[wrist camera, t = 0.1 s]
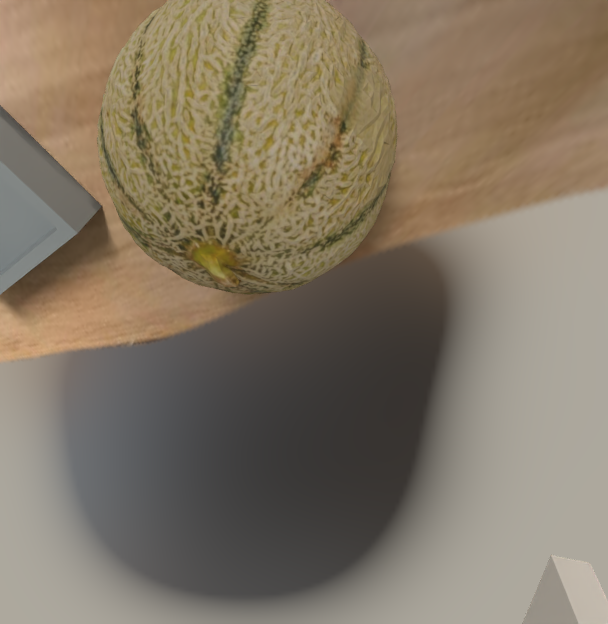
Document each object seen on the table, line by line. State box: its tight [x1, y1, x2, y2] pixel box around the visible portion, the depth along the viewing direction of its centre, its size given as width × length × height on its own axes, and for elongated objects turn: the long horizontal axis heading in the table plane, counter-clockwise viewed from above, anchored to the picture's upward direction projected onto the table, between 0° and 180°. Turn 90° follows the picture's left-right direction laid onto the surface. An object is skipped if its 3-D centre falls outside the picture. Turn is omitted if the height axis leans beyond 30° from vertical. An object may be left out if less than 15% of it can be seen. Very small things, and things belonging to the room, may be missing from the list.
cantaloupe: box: [97, 0, 397, 294], centre depth 28 cm, size 15×15×15 cm
